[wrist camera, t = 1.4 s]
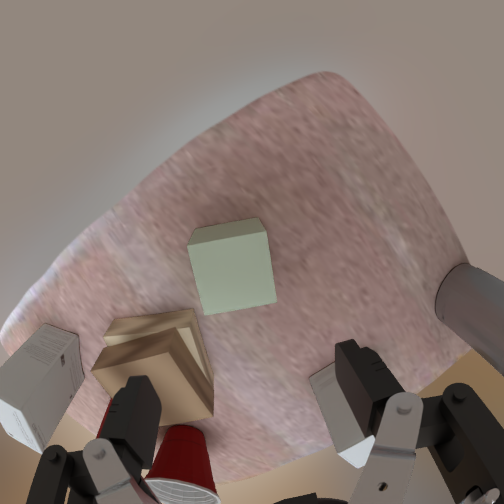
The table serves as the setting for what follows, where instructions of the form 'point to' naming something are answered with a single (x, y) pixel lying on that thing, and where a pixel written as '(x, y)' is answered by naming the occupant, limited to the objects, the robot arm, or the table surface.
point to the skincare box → (39, 385)
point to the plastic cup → (183, 469)
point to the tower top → (159, 374)
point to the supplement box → (340, 418)
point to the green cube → (232, 266)
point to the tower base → (155, 323)
